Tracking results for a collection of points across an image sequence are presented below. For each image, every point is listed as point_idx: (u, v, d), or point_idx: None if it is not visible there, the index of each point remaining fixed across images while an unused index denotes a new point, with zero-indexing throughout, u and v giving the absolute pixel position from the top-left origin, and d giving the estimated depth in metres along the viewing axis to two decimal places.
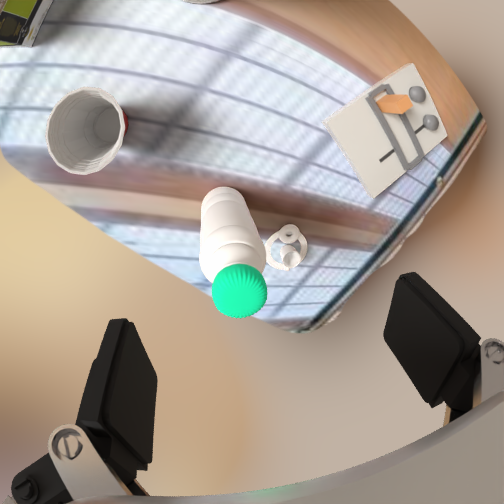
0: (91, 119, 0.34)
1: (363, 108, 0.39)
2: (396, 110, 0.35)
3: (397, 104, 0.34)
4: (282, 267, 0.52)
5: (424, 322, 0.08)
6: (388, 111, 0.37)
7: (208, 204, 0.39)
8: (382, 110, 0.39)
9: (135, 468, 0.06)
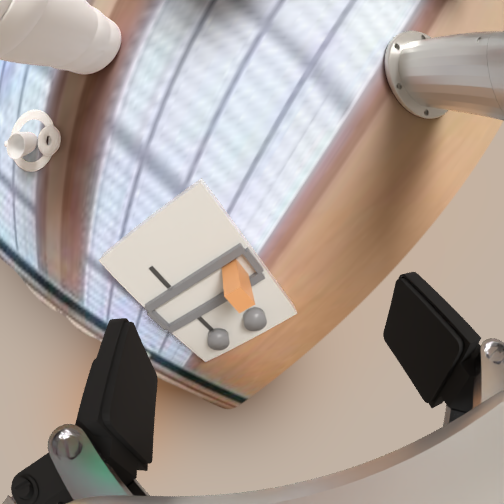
0: None
1: (224, 240, 0.33)
2: (227, 287, 0.30)
3: (238, 289, 0.29)
4: None
5: (424, 322, 0.08)
6: (224, 276, 0.32)
7: (98, 10, 0.15)
8: (224, 268, 0.33)
9: (135, 468, 0.06)
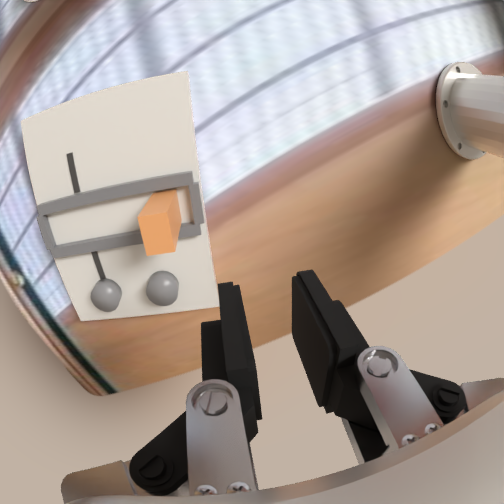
0: None
1: (174, 157, 0.22)
2: (148, 210, 0.18)
3: (162, 215, 0.17)
4: None
5: (308, 321, 0.08)
6: (150, 200, 0.20)
7: None
8: (155, 194, 0.22)
9: None
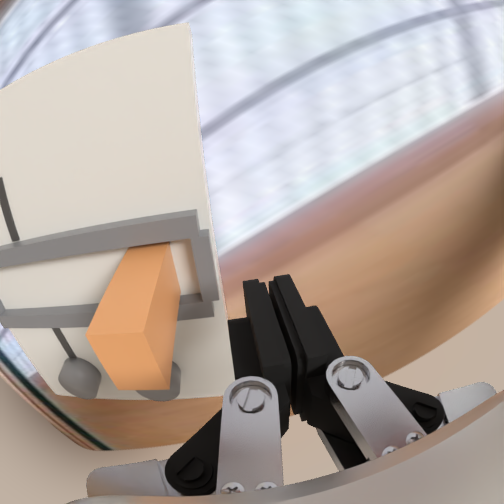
0: None
1: (164, 184, 0.12)
2: (108, 311, 0.08)
3: (134, 337, 0.08)
4: None
5: (282, 328, 0.08)
6: (119, 273, 0.10)
7: None
8: (132, 253, 0.12)
9: None
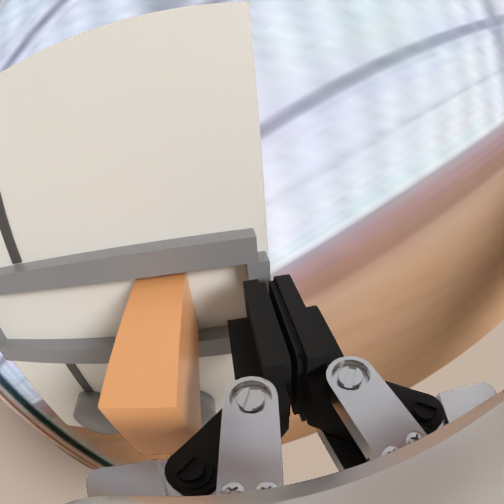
0: None
1: (214, 197, 0.10)
2: (123, 372, 0.06)
3: (164, 411, 0.05)
4: None
5: (282, 328, 0.08)
6: (129, 315, 0.08)
7: None
8: (141, 286, 0.10)
9: None
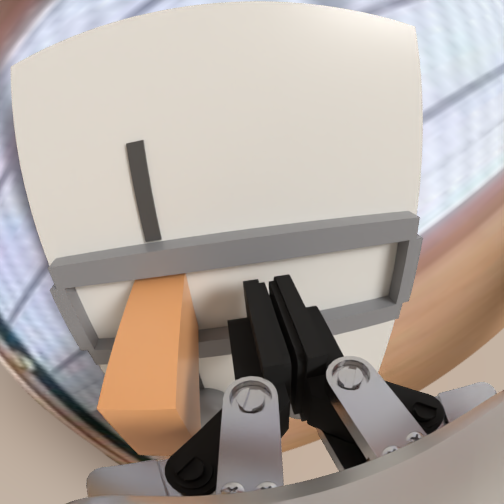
0: None
1: (388, 182, 0.10)
2: (122, 374, 0.06)
3: (163, 413, 0.05)
4: None
5: (281, 328, 0.08)
6: (129, 316, 0.08)
7: None
8: (141, 287, 0.10)
9: None
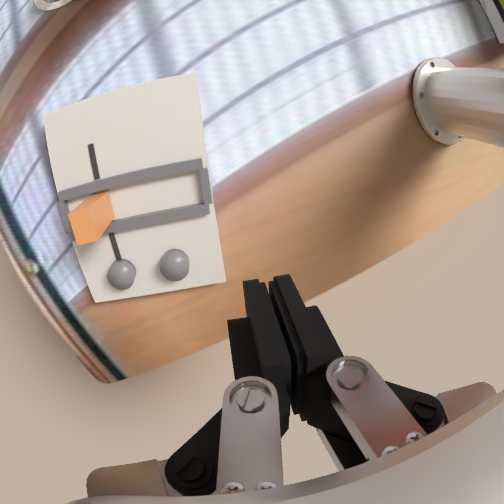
0: None
1: (186, 146, 0.25)
2: (77, 208, 0.20)
3: (85, 211, 0.20)
4: None
5: (282, 328, 0.08)
6: (84, 201, 0.23)
7: None
8: (91, 196, 0.24)
9: None
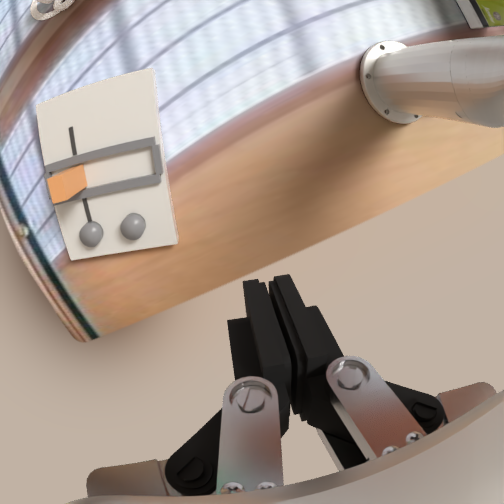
0: None
1: (143, 127, 0.29)
2: (55, 175, 0.24)
3: (59, 177, 0.24)
4: None
5: (282, 328, 0.08)
6: (62, 171, 0.27)
7: None
8: (69, 168, 0.28)
9: None
